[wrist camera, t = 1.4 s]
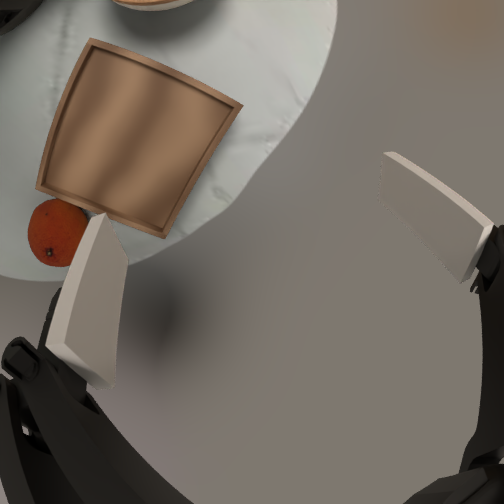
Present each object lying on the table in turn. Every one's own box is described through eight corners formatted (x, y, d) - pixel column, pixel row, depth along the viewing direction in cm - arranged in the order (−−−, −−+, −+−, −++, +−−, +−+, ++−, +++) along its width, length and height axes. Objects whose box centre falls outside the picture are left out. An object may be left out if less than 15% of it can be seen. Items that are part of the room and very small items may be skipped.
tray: (58, 165, 26) (35, 188, 21) (109, 43, 20) (89, 37, 14) (167, 208, 34) (164, 239, 29) (231, 98, 27) (243, 105, 22)
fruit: (97, 194, 30) (78, 227, 24) (92, 249, 35) (79, 287, 29) (40, 183, 27) (13, 214, 21) (41, 238, 31) (21, 274, 25)
